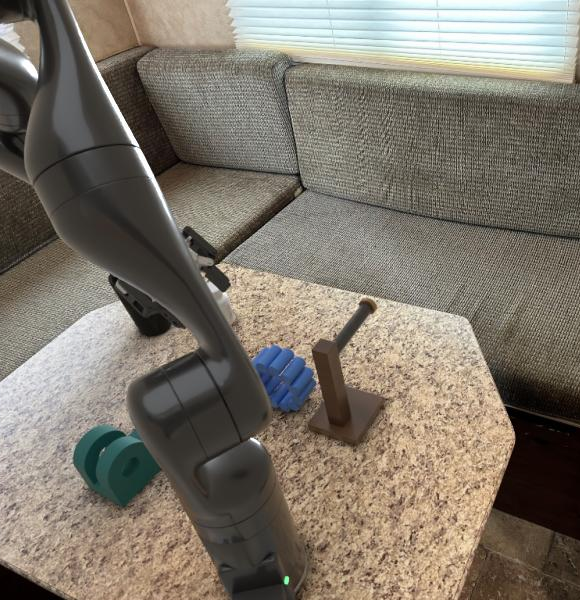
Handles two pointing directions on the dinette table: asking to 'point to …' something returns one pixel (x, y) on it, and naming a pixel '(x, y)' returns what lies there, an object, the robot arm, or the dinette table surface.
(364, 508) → the dinette table surface
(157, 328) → the cup
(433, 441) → the dinette table surface
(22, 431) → the dinette table surface
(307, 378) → the blue ribbed cylinder bundle
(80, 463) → the bracket
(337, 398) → the tape stand
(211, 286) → the pill bottle
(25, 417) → the dinette table surface
